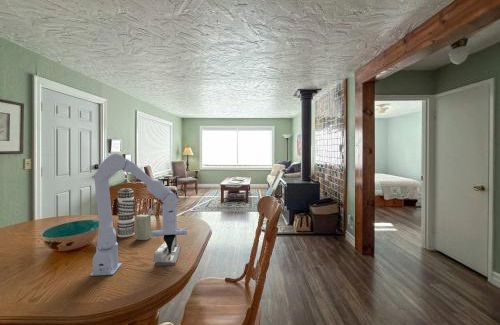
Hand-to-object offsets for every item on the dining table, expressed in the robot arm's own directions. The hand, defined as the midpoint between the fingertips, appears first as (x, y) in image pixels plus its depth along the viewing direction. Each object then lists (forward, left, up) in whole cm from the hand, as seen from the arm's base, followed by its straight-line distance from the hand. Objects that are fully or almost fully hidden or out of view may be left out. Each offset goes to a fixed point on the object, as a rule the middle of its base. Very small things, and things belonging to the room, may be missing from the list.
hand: (169, 252), depth 111 cm
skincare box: (+28, +18, -3) cm, 34 cm away
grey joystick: (+14, +1, -3) cm, 14 cm away
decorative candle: (+36, +29, -3) cm, 46 cm away
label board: (+2, +1, -3) cm, 4 cm away
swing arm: (+2, +2, -1) cm, 3 cm away
